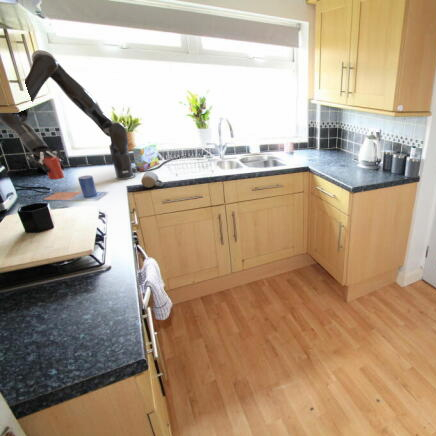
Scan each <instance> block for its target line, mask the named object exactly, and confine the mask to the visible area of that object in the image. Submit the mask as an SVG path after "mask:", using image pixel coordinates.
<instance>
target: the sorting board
mask: <svg viewBox="0 0 436 436" xmlns="http://www.w3.org/2000/svg"><path fill="white" fill-rule="evenodd" d="M105 193H107V191H97V196H95V197H90V198H85V197H83V193H82V191H67V192H66V191H63V192H62V191H61V192H60V191H59V192H57V191H56V192H55V193H53V194H51V195H48V197H46V198H44V199H43V200H44V201H50V200H51V201H53V200H54V201H55V200H57V201H58V200H97V199H99V198H100V197H102V196H104V194H105Z"/></svg>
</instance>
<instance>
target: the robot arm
mask: <svg viewBox="0 0 436 436" xmlns="http://www.w3.org/2000/svg"><path fill="white" fill-rule="evenodd" d="M31 63H32V64H31V66H30V70H29V71H28V74H27V76H26V77H25V78H24V80H25V84H26V87H27V90H28V93H29V95H30V97H31V101H32V102H33V103H34V101H35V99H36V98H37V96H38V94H39V93H40V91H41V89H42V87H43V86H44V84H46V82H47V81H48V79H49V78H50V79H51V80H52V81H53V82H55V83H56V85H58V87H59V88H60V90H61V92H62V93H64V94H65V96H66V97H67V98H68V99H69V100H70V101H71V102H72V103H73V104H74V105H75V106H76V107H77V108H78V109H79V110H81V111H82V112H83V114H85V115H86V116H87V117H88V118H90V119H91V120H92V122H94V123H95V125H97V127H98V128H99V129H100V130H101V131H102V133H103V134H104V135H105V136H107V137H109V138H110V143H111V144H109V146H108V147H109V152H110V156H111V160H112V165H113V168H114V173H115V178H116V179H117V180H129V179H132V178H134V177H135V175H134V174H136V173H137V171H138V172H139V173H146V172H152V171H155V170H157V169H159V168H160V167H162V166H163V165H164V164H165V163H167V162H169V161H173V160H178V159H181V158H184V157H187V158H188V157H189V156H188V155H187V154H184V155H181V156H178V157H173V158H170V159H168V160H166V161H163V162H162V163H161V164H159V165H158V166H157V167H156V166H155V167H153V168H149V169H146V170H144V171H140V170H137V169H136V167H133V165H132V161H131V156H130V152H129V147H128V146H129V139H128V133H127V129H126V127H125V126H124V125H123V123H120V122H116V121H114V120H112V119H111V118H110V117H109V116H108V115H106V113H104V111H103V110H102V108H101V107H100V105H99V103H98V102H97V100H96V98H95V97H93V95H92V94H91V93H90V92H89V91H88V90H87V89H85V88H84V86H83V85H81V84H80V83H79V82H78V81H77V80H75V78H73V77H72V76H71V74H69V73H68V72H67V71H66V70H65V69H64V68H63V66H62V65H61V64H60V63H59V62H58V60H57V59H56V57H55V56H54V55H53V54H51V53H50V52H48V51H46V50H43V49H38V50H34V51H33V52H32V54H31ZM29 113H30V108H28V109H26V110H24V111H21V112H19V113H0V122H1V123H2V124H3V125H5V126H6V127H7V128H9V130H11V131H12V132H14V133H15V134H16V136H17V137H18V138H19V140H20V141H21V143H22V144H23V145H24V147H25V148H26V149H27V150H28V151H29V153H28V154H27V155H26V160H27V161H29V163H31V164H32V165H33V166H34V167H35V168H38V167H40V168H41V169H42V170H43V171H44V172H45V173H46V174H47V173H48V172H50V169H49V168H48V167H47V166H46V165H45V164H44V161H43V159H44V158H47V157H59V161H60V164H61V167H62V171H64V170H65V168H66V164H64V161H65V157H64V155H63V154H62V152H61V151H60V149H56V150H52V149H50V147H49V145H47V143H46V142H45V141H44V139H43V138H42V137H41V136H40V135H39V134H38V133H37V132H36V130H35V129H34V128H33V127H32V126H31V125H30V124H28V123H27V121H28V120H29ZM30 153H31V154H30Z"/></svg>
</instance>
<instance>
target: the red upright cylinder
mask: <svg viewBox="0 0 436 436" xmlns="http://www.w3.org/2000/svg"><path fill="white" fill-rule="evenodd" d="M43 161H44V164H45V165H46V166H47V167H48V168H49V169H50V172H48V173H47V172H46V174H47V176H48V179H49V180H53V181H54V180H61V179H64V178H65V174H64V170H62V167H61V164H60V161H59V157H47V158H44V159H43Z"/></svg>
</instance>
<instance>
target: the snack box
mask: <svg viewBox="0 0 436 436" xmlns="http://www.w3.org/2000/svg"><path fill="white" fill-rule="evenodd" d="M131 150H132V154H133V159H134V164H135V168H136V169H137V170H140V171H147V170H149V169H152V168H154V167H156V165H160V164H159V163H160V161H159V155H158V148H157V143H156V142H147V143H143V144H141V145H138V146H135V147H132V149H131ZM137 170H136V171H137Z"/></svg>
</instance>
